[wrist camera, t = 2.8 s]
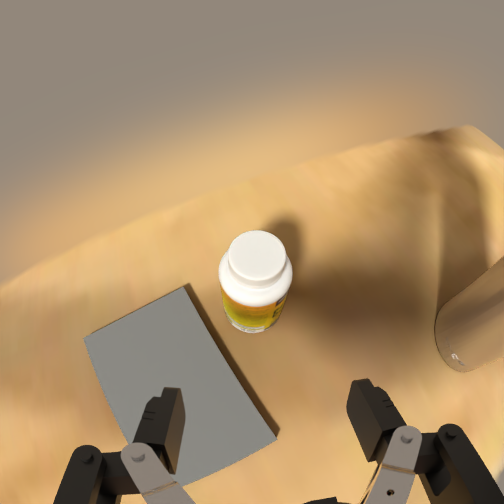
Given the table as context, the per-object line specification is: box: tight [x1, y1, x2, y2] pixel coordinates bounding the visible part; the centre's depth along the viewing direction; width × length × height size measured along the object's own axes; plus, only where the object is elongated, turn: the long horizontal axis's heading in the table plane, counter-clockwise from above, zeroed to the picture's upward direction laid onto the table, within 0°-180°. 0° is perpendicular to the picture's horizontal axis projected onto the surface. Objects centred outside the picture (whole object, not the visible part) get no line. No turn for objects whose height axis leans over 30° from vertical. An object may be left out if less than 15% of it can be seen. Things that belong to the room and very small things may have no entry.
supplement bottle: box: [219, 230, 293, 333], centre depth 24 cm, size 6×6×10 cm
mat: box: [83, 287, 277, 487], centre depth 23 cm, size 12×17×1 cm
